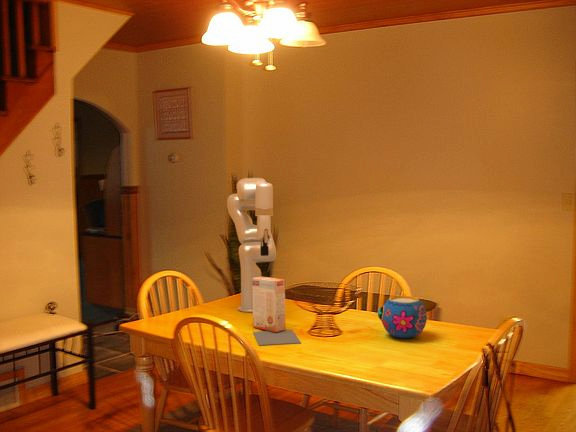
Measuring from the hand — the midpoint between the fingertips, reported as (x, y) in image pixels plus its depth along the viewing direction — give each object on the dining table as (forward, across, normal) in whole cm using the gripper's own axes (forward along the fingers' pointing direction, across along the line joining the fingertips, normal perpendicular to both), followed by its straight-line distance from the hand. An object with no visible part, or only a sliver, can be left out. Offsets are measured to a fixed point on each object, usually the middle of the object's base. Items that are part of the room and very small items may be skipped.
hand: (264, 255), depth 248 cm
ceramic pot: (+29, +32, +50) cm, 66 cm away
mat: (+29, +24, +1) cm, 38 cm away
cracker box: (+29, +12, 0) cm, 31 cm away
